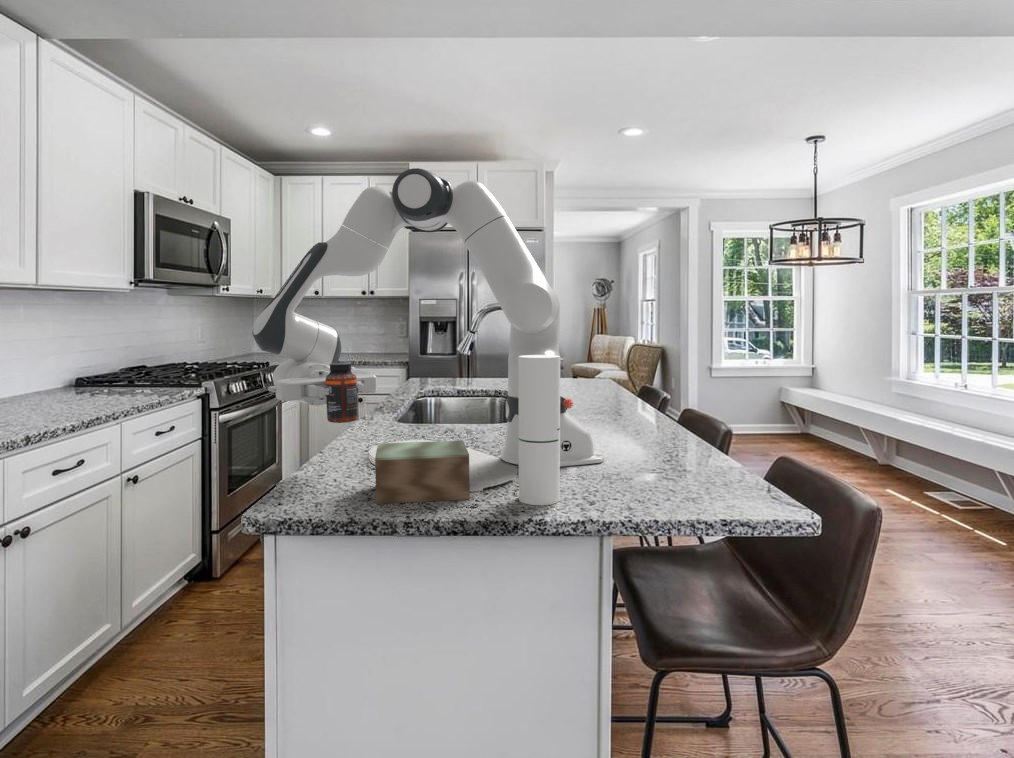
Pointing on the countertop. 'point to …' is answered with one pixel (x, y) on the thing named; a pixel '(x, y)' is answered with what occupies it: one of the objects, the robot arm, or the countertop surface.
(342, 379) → the supplement bottle
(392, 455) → the block
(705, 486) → the countertop surface
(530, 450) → the cylindrical container
